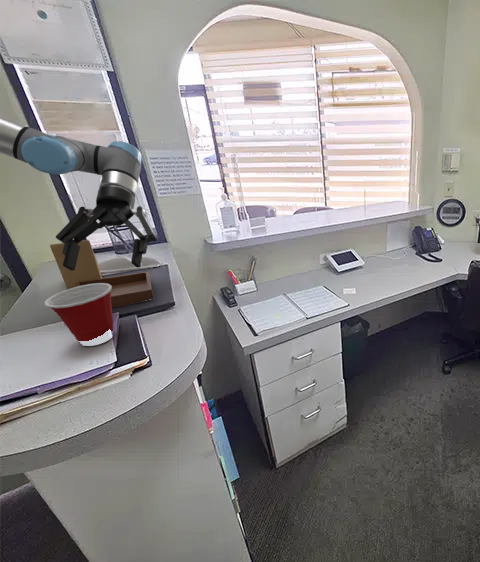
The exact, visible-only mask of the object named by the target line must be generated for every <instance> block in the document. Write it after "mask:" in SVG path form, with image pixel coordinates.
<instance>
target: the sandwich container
mask: <svg viewBox="0 0 480 562" xmlns="http://www.w3.org/2000/svg"><path fill="white" fill-rule="evenodd" d="M78 245H79V246H80V250H79V254H78V258H77V263H76V267H75V270H69V269H68V268H66V267H64V266H63V262H64V258H65V255H64V254H63V249H64V243H62V242H58V243H51V244H49V248H50V250H51V252H52V254H53V257H54V259H55V262H56V264H57V267H58V269H59V270H58V271H59V272H60V274H61V277H62V279H63V282H64V285H65V288H66V290H67V289H71V288H74V287H75V284H76V282H81V281H87V280H94V279H101V278H103V274H101V272H100V269H99V266H98V263H99V262H98V260H97V257H96V255H95V251H94V248H93V246H92V244H91V241H90V240H89V239H84V240H82V241H81V242H80V243H78Z"/></svg>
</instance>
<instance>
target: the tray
mask: <svg viewBox="0 0 480 562" xmlns="http://www.w3.org/2000/svg"><path fill="white" fill-rule="evenodd" d="M95 283H106V284H109V285H111V286H112V289H111V306H112V309H114V308H118V307H125V306H129V305H133V304H132V303H135V304H138V303H137V302H140V303H143V302H142V301H145V300H149V299H153V298H154V299H155V296H154V290H153V286H152V285H151V284H152V280H151V275H150V273H149V271H142V272H141V271H140V272H135V273H129V274H128V273H127V274H122V275H115V276H114V275H113V276H109V277H107V276H106V277H102V278H101V279H94V280H87V281H81V282H76V284H75V287H78V286H82V285H88V284H95ZM152 290H153V291H152ZM145 302H146V301H145ZM128 304H129V305H128Z"/></svg>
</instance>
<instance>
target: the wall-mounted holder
mask: <svg viewBox="0 0 480 562" xmlns="http://www.w3.org/2000/svg"><path fill="white" fill-rule="evenodd" d="M131 260H132V258H130V257H128V256H125V255H122V256H116V257H111V258H108V259H105V260H102V261H99V262H97V263H98V266H99V269H100V272H101V275H103V274H111V273H120V272H121V273H122V272H130V271H141V270H148V268H150V269H154V268H153V267H158V268H160V267H161V265H162V261H160V260H157V259H155V258H154V257H149V256H144V255H142V259H141V266H140V267H136V266H134V265H133V264H132V263H131ZM159 266H160V267H159Z"/></svg>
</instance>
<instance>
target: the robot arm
mask: <svg viewBox="0 0 480 562" xmlns="http://www.w3.org/2000/svg"><path fill="white" fill-rule="evenodd" d="M0 154H1V155H5V156H7V157H10V158H13V159H16V160H18V161H21V162H23V163H26V164H28V165H29V166H30V167H32V168H33V169H35V170H37V171H39V172H42V173H43V174H44V173H45V174H50V175H65V174H68V173H72V172H81V173H89V174H93V175H97V176H100V181H99V185H98V190H97V194H96V198H95V207H94V208H93V209H92V208H86V207H85V206H80V207H79V208H78V210H77V213H76V214H75V216H74V217H72V218H71V219H70V220H69V221H68V223H67V224H66V225H65V226H64V227H63V228H62V229H61V230H60V231H59V232H57V234H56V235H55V239H57V240H58V241H59V242H60V243H64V249H63V254H64V255H65V258H64V262H63V266H64V267H66V268H68V269H69V270H75V267H76V263H77V258H78V254H79V250H80V246H79V245H78V243H80V242H81V241H83V240H86V238H88V237H89V236H90V235H92V234H94V233H95V232H96V231H97V230H98V229H103V228H104V227H113V226H114V227H115V226H116V227H122V225H125V226H126V227H127V228H128V229H129V230H130V231H131V232H132V233H133V234H134V235H135V236H136V237H137V238H134V242H133V249H132V255H131V259H132V260H131V263H132V264H133V265H134V266H136V267H140V266H141V259H142V256H143V255H146V254H147V251H148V244H149V243H150V242H157V241H158V237H157V236H156V234H155V231H154V230H153V228H152V226H151V224H150V223H149V220H148V219H147V218H148V217H147V212H146V210H145V209H144V208H143V207H142V206H141V205H140V206H137V207H136V208H135V203H136V196H137V189H138V186H139V185H138V184H139V178H140V175H141V170H142V153H141V152H140V150H139V149H138V148H137V147H136V146H134V145H133V144H131V143H129V142H126V141H122V140H118V141H115V140H113V141H111V142H110V143H109V144H108V145H107V146H103V145H99V144H98V145H96V144H93V143H89V142H86V141H82V140H77V139H72V138H69V137H65V136H62V135H61V136H60V135H54V134H48V133H45V132H43V131H40V130H38V129H35V128H32V127H30V126H29V125H26V124H23V123H20V122H19V121H16V120H13V119H11V118H8V117H6V116H4V115H1V114H0ZM134 216H136V218H137V219H138V220H139V222H140V224H141V225H142V228H143V230H144V231H145V233H146V234H143V233H142V232H141V230H139V229H138V228H137V226H135V224H134V223H132V222H131V221H130V219H131V218H133V217H134ZM98 221H99V222H98Z"/></svg>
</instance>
